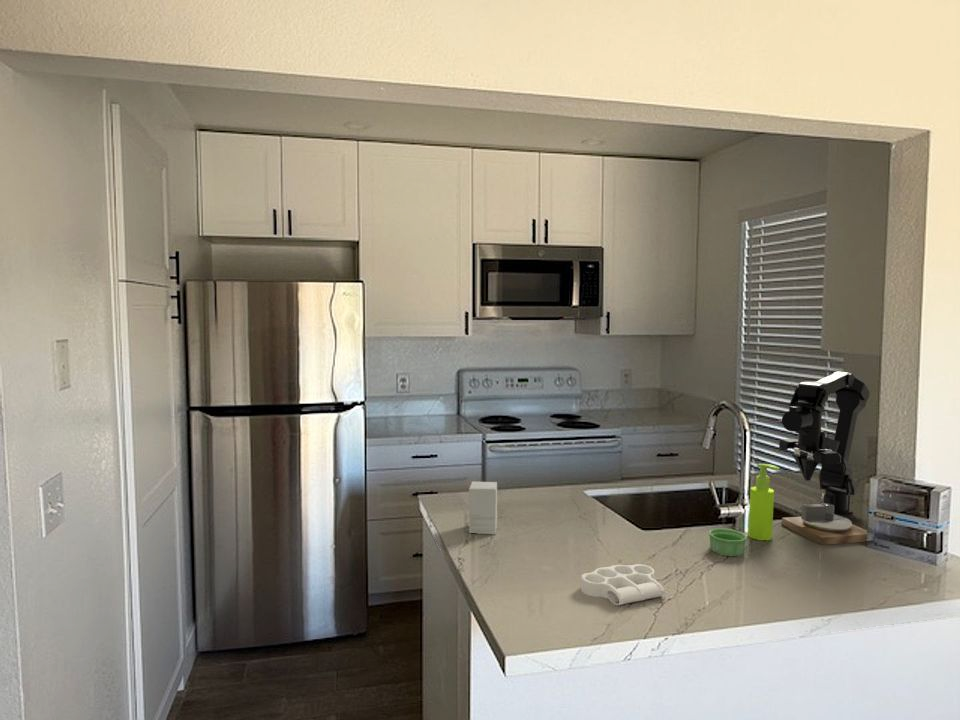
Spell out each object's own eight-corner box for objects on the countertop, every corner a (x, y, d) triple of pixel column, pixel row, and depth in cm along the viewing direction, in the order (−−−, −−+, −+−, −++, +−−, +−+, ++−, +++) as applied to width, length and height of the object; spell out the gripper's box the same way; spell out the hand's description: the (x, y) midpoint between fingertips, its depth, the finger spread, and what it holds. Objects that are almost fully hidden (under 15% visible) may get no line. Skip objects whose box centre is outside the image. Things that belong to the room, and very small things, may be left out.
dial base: (830, 521, 192) (830, 513, 192) (873, 540, 176) (874, 532, 176) (781, 524, 189) (782, 517, 188) (821, 544, 173) (822, 536, 173)
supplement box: (497, 525, 185) (498, 481, 184) (495, 535, 177) (496, 489, 176) (471, 524, 185) (471, 480, 184) (468, 533, 178) (468, 488, 177)
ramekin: (749, 559, 163) (749, 542, 163) (710, 556, 165) (711, 538, 164) (742, 546, 172) (743, 529, 171) (706, 543, 174) (706, 527, 173)
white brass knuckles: (606, 612, 135) (569, 584, 148) (677, 597, 142) (635, 571, 155) (606, 596, 135) (569, 569, 148) (677, 582, 142) (636, 558, 155)
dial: (832, 516, 189) (833, 497, 188) (861, 531, 177) (863, 511, 177) (790, 518, 187) (791, 499, 187) (816, 532, 175) (818, 512, 175)
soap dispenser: (772, 543, 174) (776, 468, 172) (745, 537, 178) (749, 464, 176) (778, 537, 179) (782, 464, 177) (751, 531, 183) (755, 460, 181)
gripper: (859, 432, 180) (856, 487, 182) (811, 419, 198) (809, 469, 200) (824, 434, 178) (821, 490, 179) (778, 421, 196) (776, 472, 198)
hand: (807, 480), depth 189 cm, fingers closed
